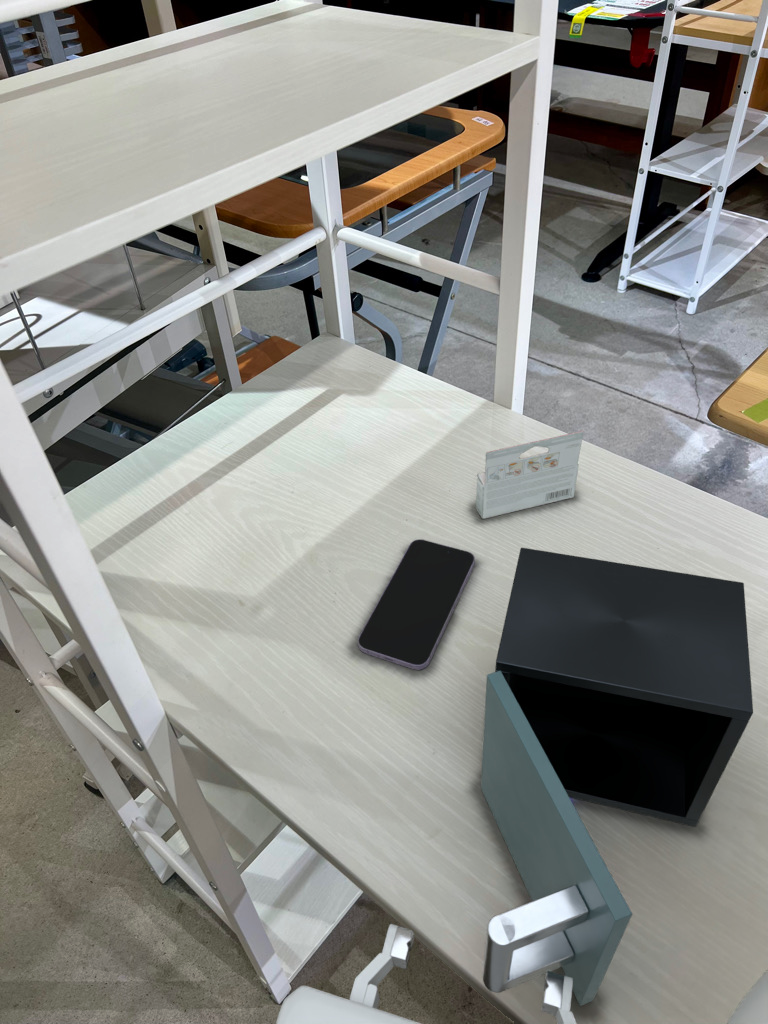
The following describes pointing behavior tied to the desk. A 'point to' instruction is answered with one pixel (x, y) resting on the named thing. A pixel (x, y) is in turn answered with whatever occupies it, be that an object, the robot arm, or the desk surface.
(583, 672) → the black cabinet
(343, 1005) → the robot arm
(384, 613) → the smartphone
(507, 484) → the ink box
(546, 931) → the door
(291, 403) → the desk surface
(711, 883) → the desk surface
